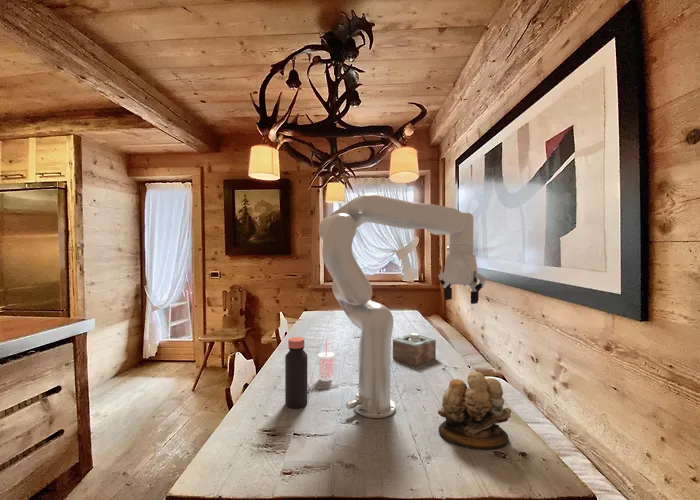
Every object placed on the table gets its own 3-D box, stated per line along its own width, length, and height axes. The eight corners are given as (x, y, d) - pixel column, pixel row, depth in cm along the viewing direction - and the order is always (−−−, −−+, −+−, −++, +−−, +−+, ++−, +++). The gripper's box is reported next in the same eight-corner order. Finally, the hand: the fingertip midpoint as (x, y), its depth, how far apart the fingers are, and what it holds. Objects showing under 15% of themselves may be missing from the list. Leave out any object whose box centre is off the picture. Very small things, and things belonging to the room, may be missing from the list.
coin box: (414, 366, 133) (414, 345, 133) (392, 358, 142) (392, 338, 142) (435, 358, 142) (435, 339, 142) (413, 351, 151) (414, 333, 151)
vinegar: (311, 400, 103) (311, 337, 103) (300, 410, 97) (300, 343, 97) (292, 397, 106) (292, 335, 105) (281, 406, 99) (280, 341, 99)
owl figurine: (502, 426, 89) (504, 363, 89) (520, 453, 78) (521, 382, 77) (435, 421, 91) (436, 360, 91) (442, 447, 80) (443, 378, 79)
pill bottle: (419, 354, 144) (420, 332, 144) (421, 358, 139) (421, 335, 139) (407, 354, 145) (407, 332, 145) (408, 358, 139) (409, 335, 139)
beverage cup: (314, 379, 119) (314, 341, 119) (323, 374, 125) (324, 337, 124) (328, 383, 116) (328, 344, 116) (337, 377, 122) (337, 339, 121)
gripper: (432, 249, 114) (432, 299, 114) (479, 250, 100) (479, 306, 100) (445, 249, 118) (445, 297, 119) (492, 250, 105) (491, 303, 105)
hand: (460, 301), depth 109 cm, fingers open, 9 cm apart
